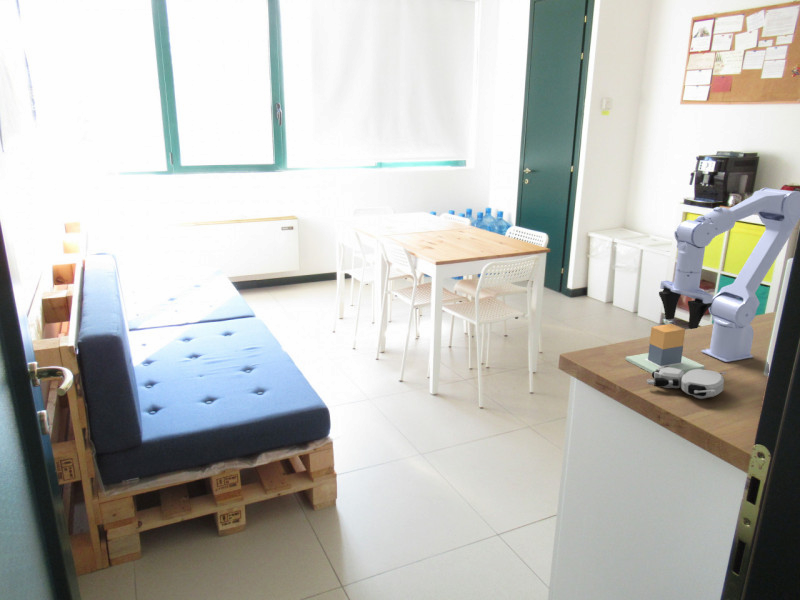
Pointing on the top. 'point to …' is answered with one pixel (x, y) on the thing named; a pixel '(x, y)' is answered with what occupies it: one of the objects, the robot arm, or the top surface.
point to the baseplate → (649, 366)
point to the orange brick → (667, 336)
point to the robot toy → (689, 381)
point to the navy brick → (665, 355)
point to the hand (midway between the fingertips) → (681, 323)
